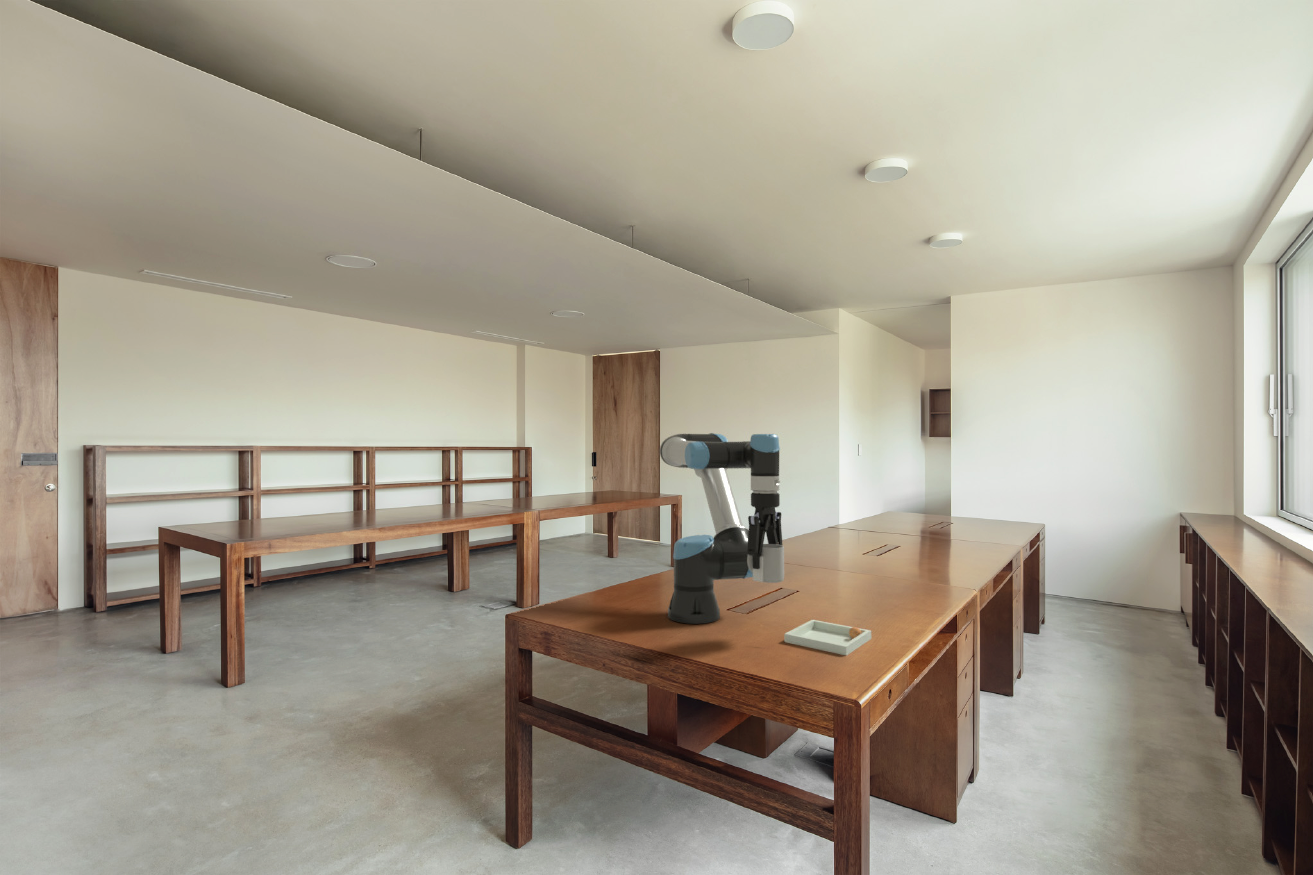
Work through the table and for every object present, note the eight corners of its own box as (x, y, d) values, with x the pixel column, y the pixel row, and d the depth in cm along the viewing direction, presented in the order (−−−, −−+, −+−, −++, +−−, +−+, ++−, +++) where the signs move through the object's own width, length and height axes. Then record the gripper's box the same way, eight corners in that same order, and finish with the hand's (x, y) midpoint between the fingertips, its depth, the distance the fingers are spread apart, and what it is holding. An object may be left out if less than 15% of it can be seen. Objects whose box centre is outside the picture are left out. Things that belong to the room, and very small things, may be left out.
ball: (847, 639, 155) (847, 627, 155) (851, 636, 157) (851, 624, 157) (858, 641, 153) (858, 629, 153) (863, 638, 155) (863, 626, 155)
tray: (784, 645, 153) (784, 633, 153) (812, 630, 165) (812, 619, 165) (846, 659, 143) (846, 646, 143) (871, 642, 155) (871, 630, 155)
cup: (779, 584, 156) (779, 549, 157) (742, 580, 161) (742, 546, 161) (787, 578, 163) (787, 545, 163) (751, 575, 168) (751, 542, 168)
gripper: (758, 495, 152) (758, 587, 152) (795, 490, 168) (796, 573, 168) (732, 493, 157) (733, 583, 157) (771, 489, 173) (771, 570, 172)
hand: (765, 578), depth 162 cm, fingers closed on cup, 7 cm apart
